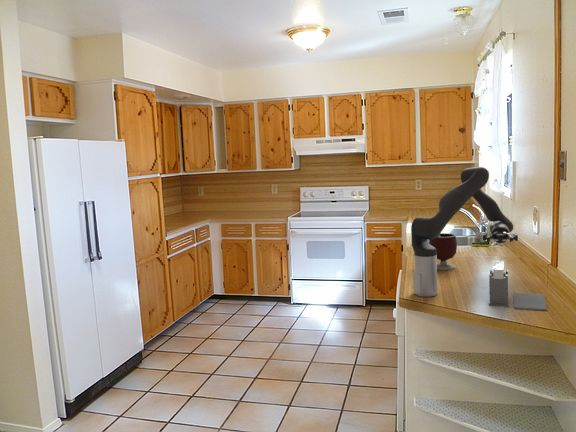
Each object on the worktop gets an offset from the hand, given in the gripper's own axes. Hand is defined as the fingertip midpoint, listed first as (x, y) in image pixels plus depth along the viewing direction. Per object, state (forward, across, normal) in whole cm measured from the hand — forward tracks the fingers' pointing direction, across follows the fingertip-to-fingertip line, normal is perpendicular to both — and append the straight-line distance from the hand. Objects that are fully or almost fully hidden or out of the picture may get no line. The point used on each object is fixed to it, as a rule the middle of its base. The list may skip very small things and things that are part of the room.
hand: (499, 239), depth 212 cm
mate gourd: (-38, -29, +22) cm, 53 cm away
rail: (+17, 0, +10) cm, 20 cm away
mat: (+17, +11, +22) cm, 30 cm away
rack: (+20, 0, +21) cm, 30 cm away
